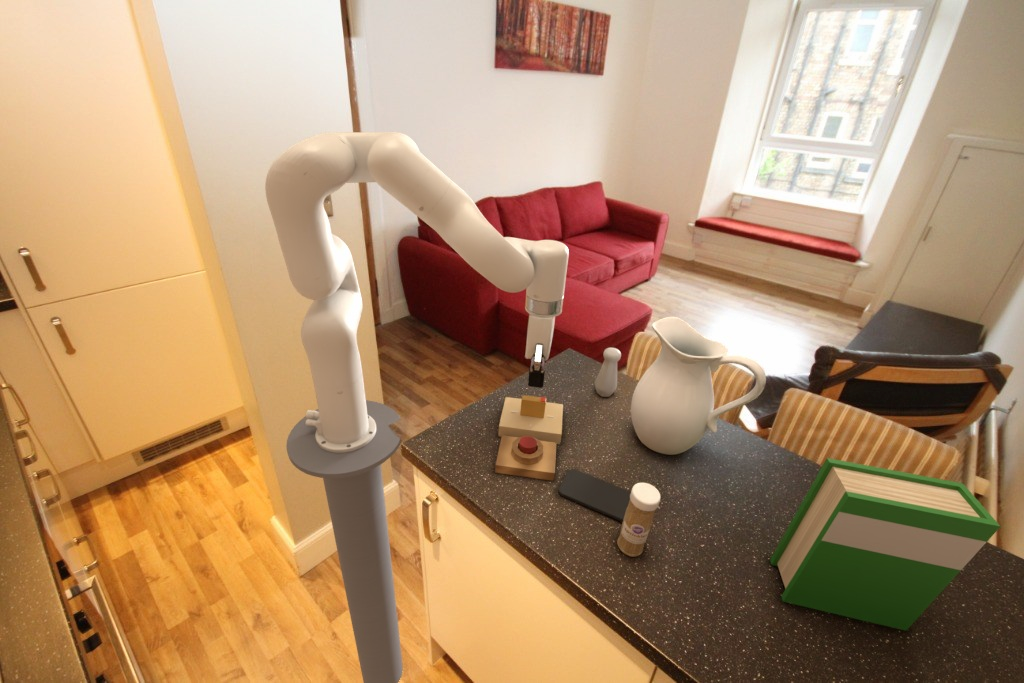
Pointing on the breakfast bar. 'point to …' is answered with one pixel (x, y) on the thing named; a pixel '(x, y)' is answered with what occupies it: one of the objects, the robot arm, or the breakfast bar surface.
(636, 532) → the sprinkles bottle
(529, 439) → the bell button
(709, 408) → the pitcher
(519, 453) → the wooden button base
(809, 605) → the hardback book
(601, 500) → the phone
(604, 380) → the salt shaker
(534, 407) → the red-tipped yellow block
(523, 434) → the dial plate
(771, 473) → the breakfast bar surface
